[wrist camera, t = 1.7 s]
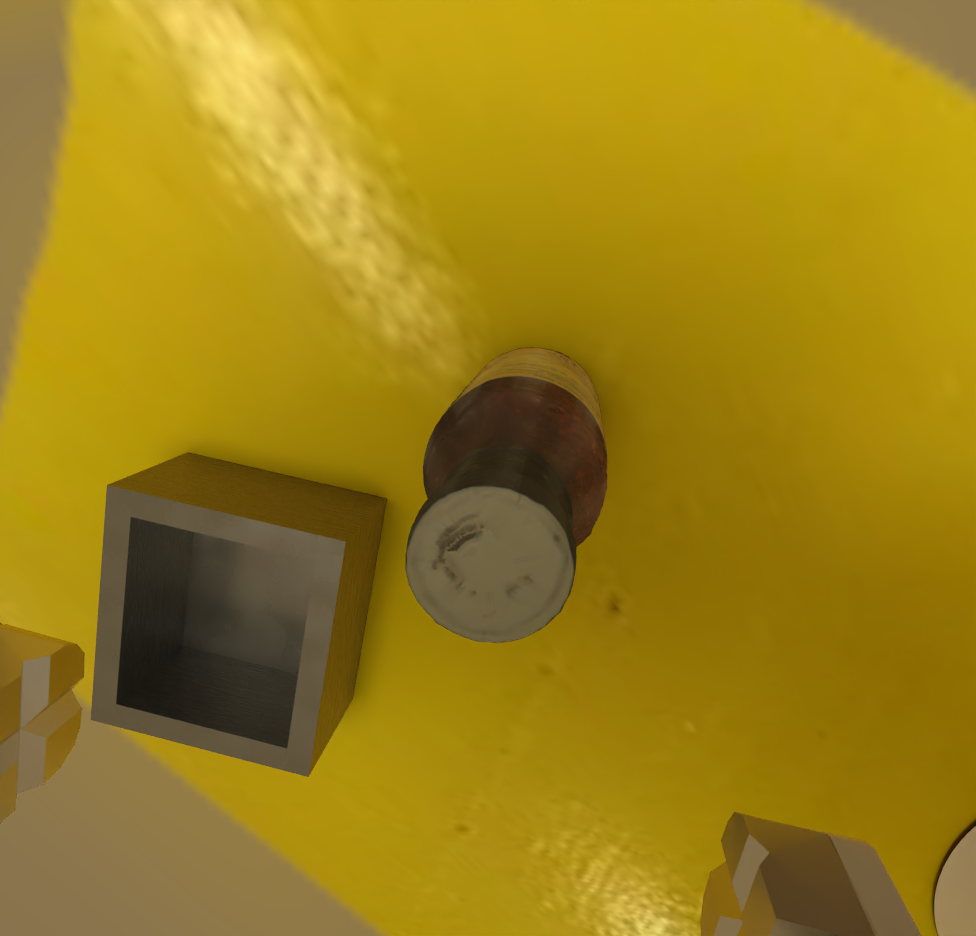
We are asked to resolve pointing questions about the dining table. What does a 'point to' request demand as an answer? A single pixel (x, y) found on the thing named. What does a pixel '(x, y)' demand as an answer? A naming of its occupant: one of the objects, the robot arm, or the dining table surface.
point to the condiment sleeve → (233, 608)
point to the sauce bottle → (508, 497)
